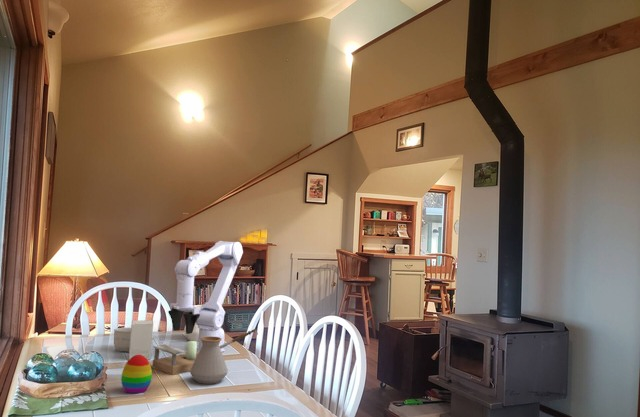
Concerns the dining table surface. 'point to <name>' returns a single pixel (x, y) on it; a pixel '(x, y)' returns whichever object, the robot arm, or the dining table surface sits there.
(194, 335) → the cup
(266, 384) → the dining table surface
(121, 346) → the teacup
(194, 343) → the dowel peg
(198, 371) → the coffee pot
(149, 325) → the supplement box
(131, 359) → the decorative egg
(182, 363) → the socket board
